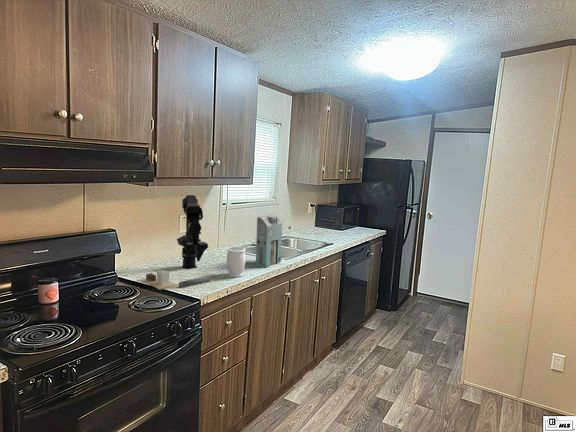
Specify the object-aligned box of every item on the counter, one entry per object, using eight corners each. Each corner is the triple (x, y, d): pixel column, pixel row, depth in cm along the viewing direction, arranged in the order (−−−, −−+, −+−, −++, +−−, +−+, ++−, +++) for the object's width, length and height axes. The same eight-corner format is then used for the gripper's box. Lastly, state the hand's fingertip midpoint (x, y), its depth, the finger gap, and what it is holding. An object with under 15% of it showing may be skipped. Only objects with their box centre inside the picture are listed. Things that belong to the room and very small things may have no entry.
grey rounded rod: (208, 280, 212) (208, 275, 212) (211, 281, 210) (211, 276, 210) (177, 287, 200) (177, 281, 199) (180, 288, 198) (180, 282, 197)
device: (266, 267, 240) (267, 218, 235) (255, 265, 244) (256, 217, 239) (280, 262, 253) (282, 215, 249) (270, 260, 257) (272, 214, 253)
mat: (166, 279, 210) (166, 278, 210) (177, 285, 201) (177, 284, 201) (148, 283, 203) (148, 282, 203) (159, 289, 194) (159, 288, 194)
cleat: (151, 278, 211) (151, 273, 210) (156, 281, 207) (156, 275, 207) (146, 279, 209) (146, 274, 208) (150, 282, 205) (150, 276, 205)
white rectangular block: (164, 281, 205) (164, 270, 204) (169, 284, 202) (169, 272, 201) (157, 283, 202) (157, 271, 202) (161, 285, 199) (161, 273, 198)
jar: (239, 279, 216) (240, 251, 214) (222, 276, 220) (223, 249, 218) (248, 274, 226) (249, 248, 224) (232, 271, 230) (232, 245, 227)
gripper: (170, 228, 207) (170, 257, 209) (189, 234, 193) (189, 265, 196) (189, 226, 214) (189, 254, 217) (208, 232, 201) (208, 262, 204)
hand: (193, 259), depth 208 cm, fingers open, 9 cm apart
